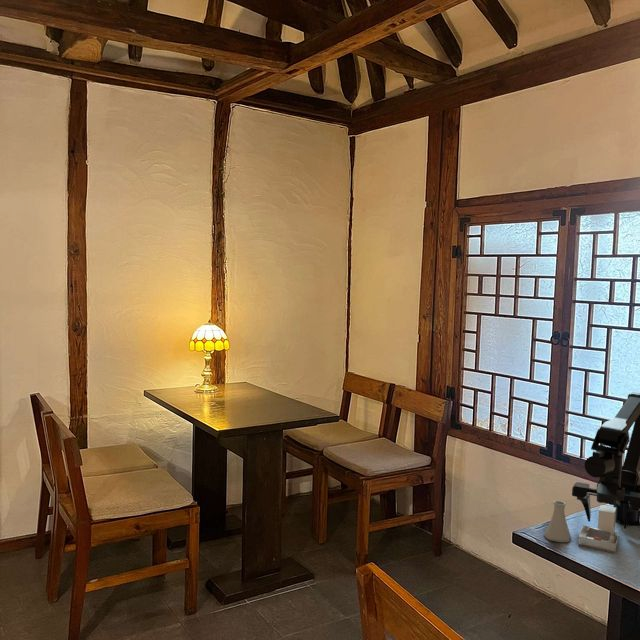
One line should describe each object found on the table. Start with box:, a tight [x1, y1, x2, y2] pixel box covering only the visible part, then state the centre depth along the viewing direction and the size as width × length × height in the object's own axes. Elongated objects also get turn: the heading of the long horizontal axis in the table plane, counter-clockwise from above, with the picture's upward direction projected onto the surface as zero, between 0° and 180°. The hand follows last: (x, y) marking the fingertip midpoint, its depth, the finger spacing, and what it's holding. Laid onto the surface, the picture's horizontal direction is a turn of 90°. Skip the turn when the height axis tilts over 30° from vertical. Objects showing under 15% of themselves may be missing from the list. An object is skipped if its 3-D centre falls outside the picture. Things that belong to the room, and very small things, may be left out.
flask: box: [543, 500, 572, 543], centre depth 177 cm, size 7×7×10 cm
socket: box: [577, 524, 619, 554], centre depth 174 cm, size 9×9×3 cm
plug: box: [597, 504, 616, 532], centre depth 182 cm, size 6×4×7 cm
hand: (606, 524), depth 182 cm, fingers open, 9 cm apart
